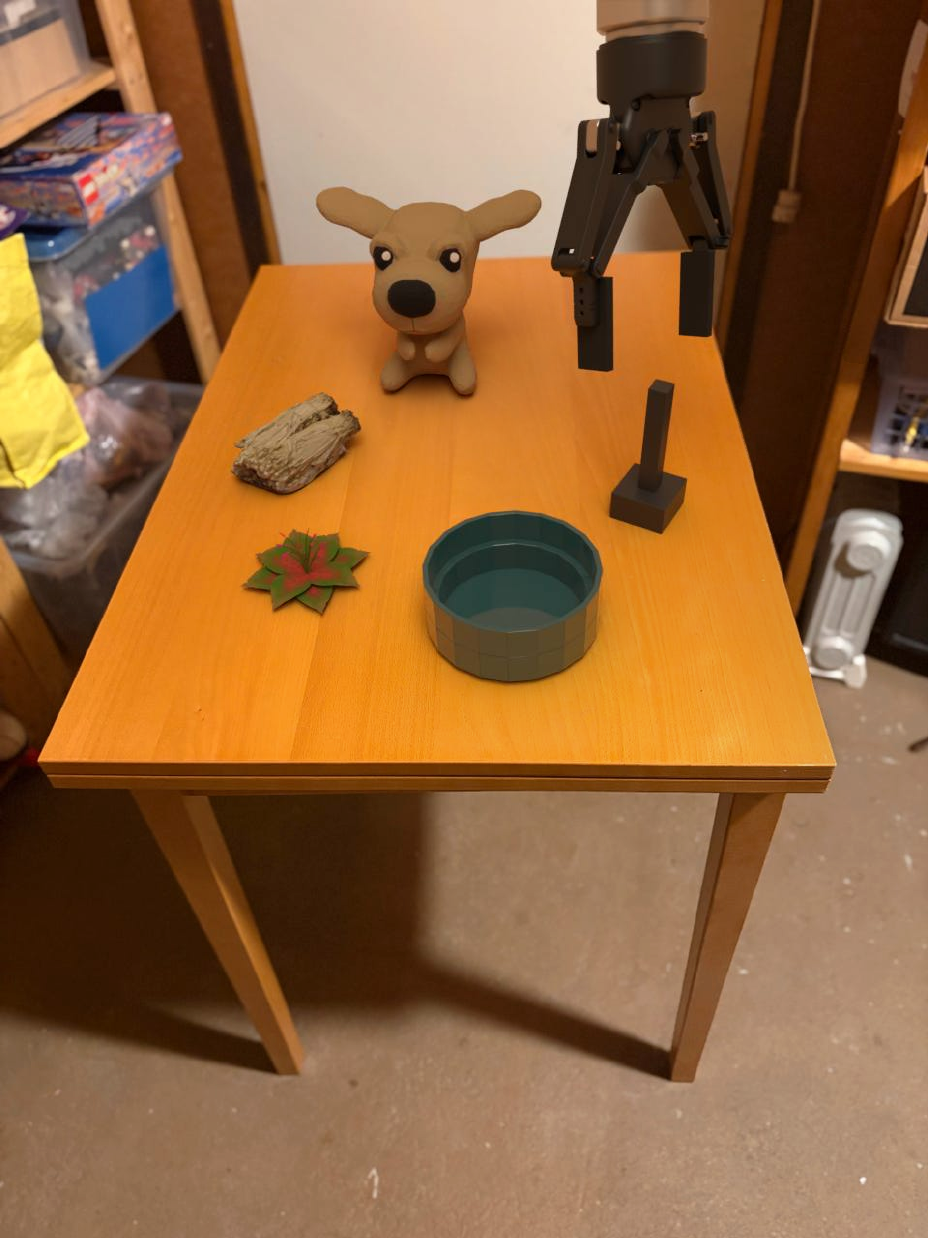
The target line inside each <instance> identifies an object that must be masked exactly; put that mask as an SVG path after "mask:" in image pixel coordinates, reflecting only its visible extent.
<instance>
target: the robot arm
mask: <svg viewBox="0 0 928 1238" xmlns="http://www.w3.org/2000/svg"><path fill="white" fill-rule="evenodd" d="M595 3H596V7H595V8H596V9H595V11H596V13H595V14H596V21H595V23H596V25H595V26H596V32H597V33H598V34H599V36H602V37H605V40H604V41H605V42H603V43H601V44H599V46H598V49H597V50H596V51H595V61H596V62H595V67H596V69H595V70H596V74H595V75H596V78H595V79H596V99H597V101H598V103H599V104H600V105H603V106H608V107H609V114H608V117H601V118H600V117H599V118H591V119H582V120H580V122H579V123H578V126H577V139H576V159H575V162H574V166H573V169H572V174H571V177H570V182H569V186H568V190H567V194H566V198H565V202H564V206H563V210H562V214H561V218H560V221H559V227H558V229H557V233H556V238H555V243H554V246H553V249H552V255H551V260H550V267H551V270H552V271H554V272H559V275H560V277H562V278H571V280H572V285H573V286H572V287H573V289H572V290H573V320H574V323H575V326H576V336H577V337H576V338H577V339H576V341H577V342H576V343H577V369H578V370H585V371H593V372H594V371H595V372H603V373H608V372H612V371H614V277H613V276H606V275H605V273H606V270H607V267H608V265H609V263H610V260H611V258H612V256H613V254H614V251H615V249H616V247H617V245H618V242H619V239H620V236H621V234H622V232H623V230H624V228H625V226H626V223H627V221H628V218H629V216H630V214H631V212H632V209H633V206H634V204H635V203H636V202H635V201H636V199H637V197H638V196H639V195H640V194H642V193H644V192H645V191H646V190H647V187H650V186H651V187H653V186H655V187H657V188H659V189H660V190H661V191H662V194H663V196H664V197H665V200H666V202H667V204H668V207H669V208H670V212H671V214H672V215H673V218H674V220H675V222H676V225H677V226H678V229H679V231H680V234H681V236H682V237H683V241H684V242H685V244H686V246H687V247H686V248H688V250H690V251H682V252H680V253H679V254H680V259H679V299H678V300H679V301H678V336H681V337H682V336H683V337H694V338H695V337H697V338H711V337H713V314H714V291H715V290H714V289H715V270H716V269H715V268H716V251H726V250H728V249H729V248H730V247H729V246H730V244H731V243H730V242H731V238H732V236H733V234H734V224H733V218H732V214H731V213H732V212H731V209H730V203H729V200H728V194H727V190H726V184H725V179H724V174H723V170H722V165H721V159H720V153H719V150H718V144H717V116H716V112H715V111H714V110H704V111H703V110H702V111H693V112H691V106H690V101H691V100H692V98H695V97H699V96H701V95H703V93H704V92H705V90H706V88H707V69H708V68H707V64H708V38H706V37H705V33H703V32H700V28H701V27H700V26H703V25H704V24H706V22H708V20H710V0H596V2H595ZM715 220H717V222H716V221H715ZM571 250H573V251H572V252H571ZM604 275H605V276H604Z"/></svg>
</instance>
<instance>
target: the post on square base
mask: <svg viewBox="0 0 928 1238" xmlns="http://www.w3.org/2000/svg"><path fill="white" fill-rule="evenodd" d="M675 385H676V384H675V383H673V382H670V381H666V380H661V379H658V378H656V379H655V380H654V381H653V382H652V383H651V384H650V386H649V387H648V388H647V394H646V395H647V396H646V405H645V414H644V423H643V432H642V443H641V450H640V460H639V463H638V462H634V463H633V464H632V466H631V467H630V468H629V470H628V471H627V472H626V473H625V474H624V476H623V477H622V478H621V479H620V481H619V482H618V483H617V485H616V486H615V487H614V488H613V490H612V491H611V492H610V502H609V512H608V513H609V514H608V517H609V518H612V519H615V520H618V521H621V522H624V523H628V524H630V525H634V526H637V527H639V528H641V529H646V530H649V531H652V532H655V533H657V534H663V533H664V531H665V530H666V528H667V527H668V525H669V524H670V523H671V521H672V520H673V518H674V517H675V515H676V514H677V513H678V511H679V510H680V509H681V507H682V506H683V504H684V503H685V502H684V501H685V496H686V492H687V491H686V490H687V484H688V478H686V477H683V476H680V475H677V474H674V473H670V472H667V471H664V468H665V460H666V453H667V446H668V440H669V439H668V438H669V430H670V423H671V415H672V409H673V401H674V393H675Z"/></svg>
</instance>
